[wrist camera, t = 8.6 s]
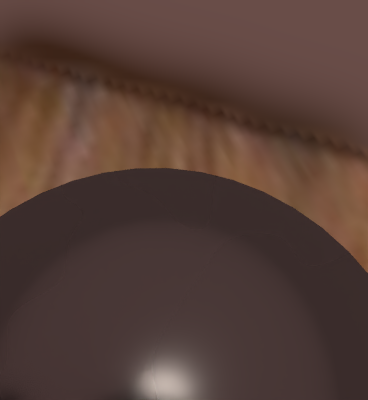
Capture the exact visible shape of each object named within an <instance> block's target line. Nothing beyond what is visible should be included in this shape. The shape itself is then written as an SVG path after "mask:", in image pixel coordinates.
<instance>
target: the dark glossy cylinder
mask: <svg viewBox="0 0 368 400" xmlns="http://www.w3.org/2000/svg"><path fill="white" fill-rule="evenodd" d="M0 400H368V273H367V272H366V271H365V270H364V269H363V267H362V266H361V265H360V264H359V263H358V262H357V261H356V259H355V258H354V257H353V256H352V255H351V254H350V253H349V252H348V251H347V250H346V249H345V248H344V247H343V246H342V245H341V244H339V243H338V242H337V241H336V240H335V239H334V238H333V237H332V236H331V235H329V234H328V233H327V232H326V231H325V230H324V229H323V228H321V227H320V226H319V225H317V224H316V223H314V222H313V221H312V220H310V219H309V218H307V217H306V216H304V215H303V214H302V213H300V212H299V211H297V210H296V209H294V208H293V207H291V206H289V205H287V204H285V203H283V202H282V201H280V200H278V199H276V198H274V197H272V196H270V195H268V194H267V193H265V192H262V191H260V190H257V189H255V188H252V187H249V186H247V185H244V184H242V183H239V182H237V181H234V180H230V179H226V178H222V177H218V176H214V175H210V174H206V173H202V172H195V171H187V170H178V169H170V168H149V169H130V170H122V171H114V172H107V173H102V174H98V175H94V176H90V177H86V178H82V179H78V180H75V181H71V182H69V183H66V184H64V185H61V186H59V187H56V188H53V189H51V190H48V191H46V192H43V193H41V194H39V195H37V196H35V197H33V198H32V199H30V200H28V201H26V202H24V203H22V204H20V205H19V206H17V207H15V208H13V209H11V210H10V211H8V212H7V213H5V214H4V215H2V216H1V217H0Z"/></svg>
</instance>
